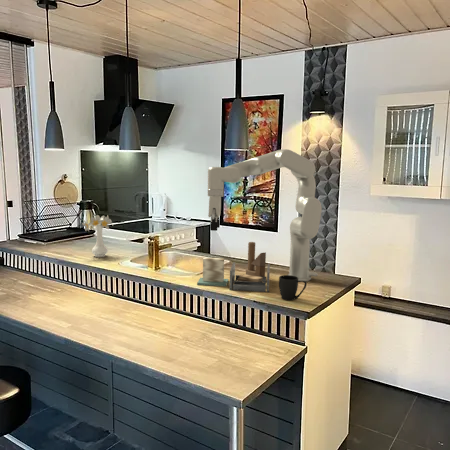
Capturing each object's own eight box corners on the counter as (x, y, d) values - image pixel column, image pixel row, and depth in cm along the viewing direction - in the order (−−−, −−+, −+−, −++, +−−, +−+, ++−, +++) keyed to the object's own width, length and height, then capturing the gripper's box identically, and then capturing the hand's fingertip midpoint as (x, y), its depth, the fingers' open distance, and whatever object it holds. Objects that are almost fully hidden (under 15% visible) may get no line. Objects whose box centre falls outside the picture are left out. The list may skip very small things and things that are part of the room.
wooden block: (259, 281, 222) (261, 245, 219) (245, 276, 230) (246, 242, 227) (265, 279, 224) (266, 244, 221) (250, 275, 232) (251, 241, 230)
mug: (302, 304, 186) (303, 282, 185) (275, 299, 192) (276, 278, 191) (308, 299, 193) (309, 278, 192) (282, 294, 199) (283, 274, 198)
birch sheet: (223, 280, 217) (224, 258, 215) (223, 282, 214) (223, 259, 213) (203, 279, 218) (203, 257, 216) (202, 281, 215) (203, 258, 214)
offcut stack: (263, 285, 215) (263, 277, 214) (258, 287, 211) (259, 279, 210) (242, 281, 221) (242, 273, 221) (237, 283, 217) (237, 275, 216)
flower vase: (79, 257, 265) (78, 215, 262) (104, 252, 280) (104, 213, 276) (93, 260, 257) (92, 217, 254) (118, 255, 272) (118, 215, 269)
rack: (269, 281, 221) (269, 263, 220) (268, 292, 203) (269, 272, 202) (232, 279, 223) (233, 262, 221) (229, 290, 205) (230, 270, 203)
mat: (228, 280, 220) (228, 278, 220) (226, 286, 210) (226, 284, 210) (200, 279, 222) (200, 277, 221) (197, 284, 212) (197, 282, 212)
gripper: (210, 191, 219) (209, 226, 222) (205, 194, 202) (204, 231, 205) (225, 192, 219) (224, 226, 221) (221, 194, 202) (221, 232, 204)
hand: (215, 228), depth 213 cm, fingers open, 9 cm apart
